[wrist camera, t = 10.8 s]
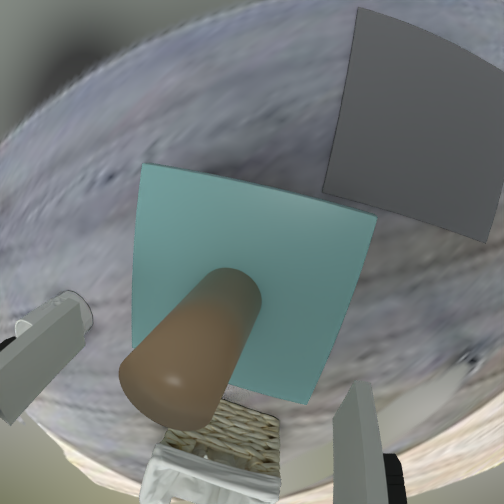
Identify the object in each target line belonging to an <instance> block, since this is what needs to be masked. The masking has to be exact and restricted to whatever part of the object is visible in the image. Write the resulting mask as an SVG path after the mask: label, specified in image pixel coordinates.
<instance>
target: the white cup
mask: <svg viewBox="0 0 504 504" xmlns="http://www.w3.org/2000/svg"><path fill="white" fill-rule="evenodd" d="M67 298H70V299H73V300H75V301H77V302H80V310H81V318H82V326H83V333H84V335H85V334H86V333H87V332H88V331H89V329H90V328H91V326H92V324H93V320H92V314H91V311H90V309H89V306H88V305H87V304H86V302H85V301H84V300H83V298H82V297H80V296H79V295H78V294H76V293H75V292H71V291H65V292H63V293H61V294H59V295H58V296H56V297H55V298H52V299H50V300H49V301H47V302H45V303H44V304H42V305H41V306H39V307H37V308H36V309H34V310H33V311H31V312H30V313H28V314H27V315H25V316H24V317H22V318H21V319H19V320H18V321H17V322H16V324H15V333H16V337H17V338H18V337H19V336H20V335H21V334H22V333H24V332H25V331H26V330H27V329H29V328H30V327H31V326H32V325H34V324H35V323H36V322H37V321H39V320H40V319H41V318H43V317H44V316H45V315H46V314H48V313H49V312H50V311H52V310H53V309H54V308H55V307H57V306H58V305H59V304H61V303H62V302H63V301H65V300H66V299H67Z"/></svg>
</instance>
